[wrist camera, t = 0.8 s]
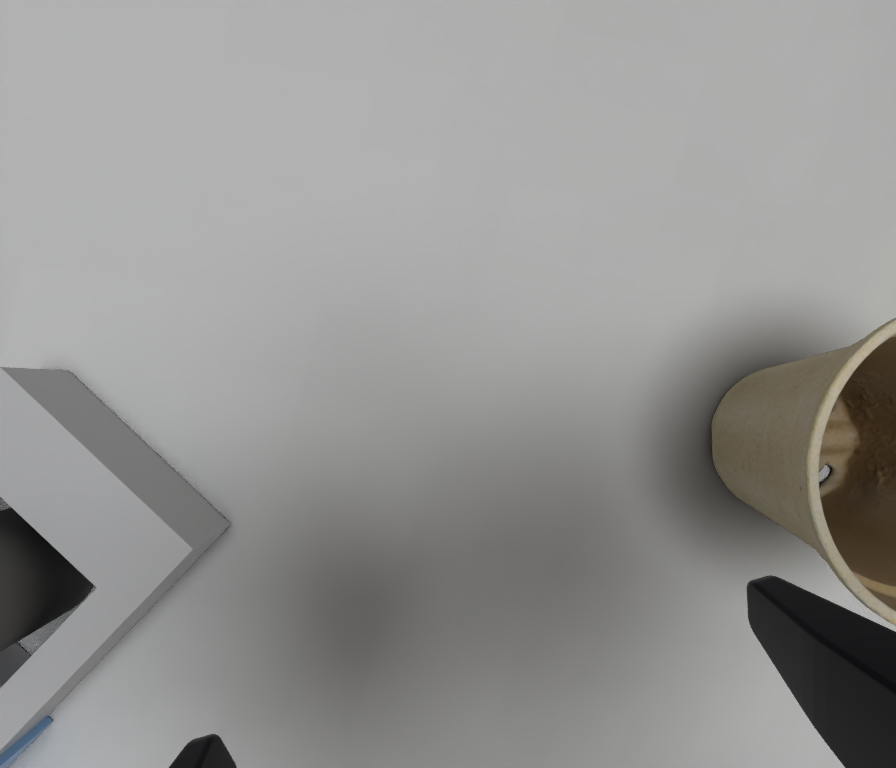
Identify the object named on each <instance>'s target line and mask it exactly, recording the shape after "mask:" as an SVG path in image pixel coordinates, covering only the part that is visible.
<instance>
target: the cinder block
mask: <svg viewBox="0 0 896 768" xmlns="http://www.w3.org/2000/svg"><path fill="white" fill-rule="evenodd" d="M0 497H1V498H2V499H3V500H4V501H5V502H6V503H7V504H8V505H9V506H10V507H12V508H13V509H14V510H15V511H16V512H17V513H18V514H19V515H20V516H21V517H22V518H23V519H24V520H25V521H26V522H27V523H29V524H30V525H31V526H32V527H33V528H34V529H35V530H36V531H37V532H38V533H39V534H40V535H41V536H42V537H43V538H44V539H46V540H47V541H48V542H49V543H50V544H51V545H52V546H53V547H54V548H55V549H56V550H57V551H58V552H59V553H60V554H61V555H63V556H64V557H65V558H66V559H67V560H68V561H69V562H70V563H71V564H72V565H73V566H74V567H75V568H76V569H77V570H78V571H80V572H81V573H82V574H83V575H84V576H85V577H86V578H87V579H88V580H89V581H90V582H91V583H92V584H93V585H94V586H95V587H97V588H96V589H95V590H94V591H93V592H92V593H91V594H90V595H89V597H88V598H87V599H86V600H85V601H84V602H83V603H82V604H81V605H80V606H79V607H78V608H77V609H76V610H75V611H74V612H73V613H72V614H71V615H70V616H69V617H68V618H67V619H66V620H65V621H64V623H63V624H62V625H61V626H60V627H59V628H58V629H57V630H56V631H55V632H54V633H53V634H52V635H51V636H50V637H49V638H48V639H47V640H46V641H45V642H44V643H43V644H42V645H41V646H40V647H39V649H38V650H37V651H36V652H35V653H34V654H33V655H32V656H30V655H29V654H28V653H27V652H26V651H25V650H24V649H23V648H22V647H21V646H20V645H19V644H18V643H14V644H12V645H11V646H9V647H7V648H6V649H4V650H2V651H1V652H0V768H8V767H9V766H10V765H11V764H12V763H13V762H14V761H15V760H16V759H17V758H18V757H19V756H20V755H21V754H22V753H23V752H24V751H25V749H26V748H27V747H28V746H29V745H30V744H31V743H32V742H33V741H34V740H35V739H36V738H37V737H38V736H39V735H40V734H41V733H42V732H43V731H44V730H45V729H46V728H47V726H48V725H49V724H50V723H51V722H52V720H51V719H50V718H49V717H48V715H49V714H50V713H51V712H52V711H53V710H54V709H55V708H56V707H57V706H58V704H59V703H60V702H61V701H62V700H63V699H64V698H65V697H66V696H67V695H68V694H69V693H70V692H71V691H72V690H73V689H74V688H75V687H76V686H77V685H78V684H79V683H80V682H81V680H82V679H83V678H84V677H85V676H86V675H87V674H88V673H89V672H90V671H91V670H92V669H93V668H94V667H95V666H96V665H97V664H98V663H99V662H100V661H101V660H102V659H103V657H104V656H105V655H106V654H107V653H108V652H109V651H110V650H111V649H112V648H113V647H114V646H115V645H116V644H117V643H118V642H119V641H120V640H121V639H122V638H123V637H124V636H125V635H126V633H127V632H128V631H129V630H130V629H131V628H132V627H133V626H134V625H135V624H136V623H137V622H138V621H139V620H140V619H141V618H142V617H143V616H144V615H145V614H146V613H147V612H148V610H149V609H150V608H151V607H152V606H153V605H154V604H155V603H156V602H157V601H158V600H159V599H160V598H161V597H162V596H163V595H164V594H165V593H166V592H167V591H168V590H169V589H170V588H171V586H172V585H173V584H174V583H175V582H176V581H177V580H178V579H179V578H180V577H181V576H182V575H183V574H184V573H185V572H186V571H187V570H188V569H189V568H190V567H191V566H192V565H193V564H194V562H195V561H196V560H197V559H198V558H199V557H200V556H201V555H202V554H203V553H204V552H205V551H206V550H207V549H208V548H209V547H210V546H211V545H212V544H213V543H214V542H215V541H216V539H217V538H218V537H219V536H220V535H221V534H222V533H223V532H224V531H225V530H226V529H227V528H228V527H229V526H230V525H231V524H230V523H229V522H228V521H227V520H226V519H225V518H224V517H223V516H222V515H221V514H220V513H219V512H218V511H217V510H216V509H215V508H214V507H212V506H211V505H210V504H209V503H208V502H207V501H206V500H205V499H204V498H203V497H202V496H201V495H200V494H199V493H198V492H197V491H196V490H195V489H193V488H192V487H191V486H190V485H189V484H188V483H187V482H186V481H185V480H184V479H183V478H182V477H181V476H180V475H179V474H178V473H177V472H175V471H174V470H173V469H172V468H171V467H170V466H169V465H168V464H167V463H166V462H165V461H164V460H163V459H162V458H161V457H160V456H159V455H157V454H156V453H155V452H154V451H153V450H152V449H151V448H150V447H149V446H148V445H147V444H146V443H145V442H144V441H143V440H142V439H141V438H140V437H138V436H137V435H136V434H135V433H134V432H133V431H132V430H131V429H130V428H129V427H128V426H127V425H126V424H125V423H124V422H123V421H122V420H120V419H119V418H118V417H117V416H116V415H115V414H114V413H113V412H112V411H111V410H110V409H109V408H108V407H107V406H106V405H105V404H104V403H103V402H101V401H100V400H99V399H98V398H97V397H96V396H95V395H94V394H93V393H92V392H91V391H90V390H89V389H88V388H87V387H86V386H85V385H83V384H82V383H81V382H80V381H79V380H78V379H77V378H76V377H75V376H74V375H73V374H72V373H71V372H70V371H67V370H47V369H26V368H6V367H0Z"/></svg>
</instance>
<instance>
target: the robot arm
mask: <svg viewBox="0 0 896 768" xmlns="http://www.w3.org/2000/svg"><path fill="white" fill-rule="evenodd" d="M747 603H748V619H749V623H750V626H751V628H752V630H753V632H754V634H755V635H756V637H757V639H758V640H759V642H760V643H761V645H762V646H763V648H764V650H765V651H766V653H767V654H768V656H769V657H770V659H771V661H772V662H773V664H774V665H775V667H776V668H777V670H778V672H779V673H780V675H781V676H782V678H783V679H784V681H785V683H786V684H787V686H788V687H789V689H790V690H791V692H792V694H793V695H794V697H795V698H796V700H797V701H798V703H799V705H800V706H801V708H802V709H803V711H804V712H805V714H806V715H807V717H808V718H809V720H810V721H811V723H812V724H813V726H814V727H815V728H816V730H817V731H818V733H819V734H820V735H821V737H822V738H823V739H824V741H825V742H826V743H827V745H828V746H829V747H830V748H831V750H832V751H833V752H834V754H835V755H836V756H837V758H838V759H839V760H840V761H841V763H842V764H843V765H844V767H845V768H896V632H895V631H892V630H890V629H888V628H886V627H884V626H882V625H880V624H877V623H875V622H873V621H871V620H869V619H867V618H865V617H862V616H860V615H858V614H856V613H854V612H852V611H849V610H847V609H845V608H843V607H841V606H839V605H837V604H834V603H832V602H830V601H828V600H826V599H824V598H821V597H819V596H817V595H815V594H813V593H811V592H809V591H806V590H804V589H802V588H800V587H798V586H796V585H793V584H791V583H789V582H787V581H785V580H783V579H781V578H778V577H776V576H765V577H762V578H758V579H755V580H751V581H750V582H749V583H748V585H747ZM169 768H237V767H236V764H235V762H234V761H233V759H232V757H231V755H230V754H229V752H228V750H227V748H226V747H225V745H224V743H223V741H222V740H221V738H220V737H219V736H218V735H216V734H210V735H207V736H203V737H200V738H196V739H194V740H192V741H190V742H189V743H188V744H187V745H186V746H185V747H184V749H183V750H182V751H181V752H180V754H179V755H178V756H177V758H176V759H175V760H174V762H173V763H172V764H171V766H170V767H169Z"/></svg>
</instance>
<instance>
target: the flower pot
mask: <svg viewBox="0 0 896 768" xmlns="http://www.w3.org/2000/svg"><path fill="white" fill-rule="evenodd" d="M711 428H712V454H713V462H714V466H715V468H716V470H717V472H718V474H719V476H720V478H721V479H722V481H723V482H724V484H725V485H726V486H727V487H728V489H729V490H730V491H731V492H732V493H733V494H734V495H735V496H736V497H738V498H739V499H740V500H741V501H743V502H744V503H746V504H748V505H750V506H751V507H753V508H754V509H756V510H757V511H759V512H761V513H762V514H764V515H765V516H767V517H768V518H770V519H771V520H773V521H774V522H776V523H777V524H779V525H780V526H782V527H783V528H785V529H786V530H788V531H789V532H791V533H792V534H794V535H795V536H797V537H798V538H800V539H801V540H803V541H804V542H806V543H807V544H809V545H810V546H811V547H813V548H814V549H816V550H817V552H818V553H819V554H820V555H821V557H822V558H823V559H824V560H825V561H826V562H827V563H828V564H829V566H830V567H831V569H832V570H833V572H834V573H835V574H836V576H837V577H838V579H839V580H840V581H841V582H842V583H843V585H844V586H845V587H846V588H847V589H848V590H849V591H850V592H851V593H852V594H853V595H854V596H855V597H856V598H857V599H858V600H859V601H860V602H861V603H863V604H864V605H865V606H866V607H867V608H869V609H870V610H871V611H873V612H874V613H876V614H877V615H879V616H880V617H882V618H883V619H885V620H886V621H888V622H890V623H892V624H894V625H895V626H896V318H894V319H892V320H890V321H889V322H887V323H885V324H884V325H882V326H881V327H879V328H877V329H876V330H874V331H873V332H871V333H870V334H869V335H868V336H866V337H865V338H864V339H862V340H860V341H858V342H857V343H855V344H853V345H851V346H849V347H845V348H842V349H838V350H834V351H831V352H827V353H823V354H819V355H815V356H812V357H808V358H805V359H801V360H797V361H793V362H789V363H785V364H781V365H777V366H772V367H768V368H765V369H761V370H758V371H756V372H753V373H751V374H750V375H748V376H746V377H744V378H743V379H741V380H740V381H739V382H737V383H736V384H735V385H734V386H733V387H732V388H731V389H730V390H729V391H728V392H727V393H726V395H725V396H724V397H723V399H722V400H721V402H720V404H719V406H718V407H717V410H716V412H715V414H714V417H713V420H712V427H711ZM825 464H827V465H829V466H830V467H831V468H832V472H831V475H830V476H829V478H828V479H826V480H825V481H824V482H822V483H820V485H819V472H820V471H821V470H822V468H824V465H825Z"/></svg>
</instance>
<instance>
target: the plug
mask: <svg viewBox="0 0 896 768" xmlns="http://www.w3.org/2000/svg"><path fill="white" fill-rule="evenodd" d="M93 586H94V585H93V584H92V583H91V582H90V581H89V580H88V579H87V578H86V577H85V576H84V575H83V574H82V573H81V572H80V571H78V570H77V569H76V568H75V567H74V566H73V565H72V564H71V563H70V562H69V561H68V560H67V559H66V558H65V557H64V556H63V555H61V554H60V553H59V552H58V551H57V550H56V549H55V548H54V547H53V546H52V545H51V544H50V543H49V542H48V541H47V540H46V539H44V538H43V537H42V536H41V535H40V534H39V533H38V532H37V531H36V530H35V529H34V528H33V527H32V526H31V525H30V524H29V523H27V522H26V521H25V520H24V519H23V518H22V517H21V516H20V515H19V514H18V513H17V512H16V511H15V510H14V509H13V508H9V509H6V510H2V511H0V652H1V651H2V650H4V649H6V648H7V647H9V646H11V645H12V644H14V643H16V642H17V641H19V640H21V639H22V638H24V637H26V636H27V635H29V634H31V633H32V632H34V631H36V630H37V629H39V628H41V627H42V626H44V625H46V624H47V623H49V622H51V621H52V620H54V619H56V618H57V617H59V616H61V615H62V614H64V613H66V612H67V611H69V610H71V609H72V608H74V607H75V606H76V605H78V604H79V603H80V602H81V601H82V600H83V599H84V598H85V597H86V596H87V595H88V594H89V592H90V591H91V589H92V588H93Z"/></svg>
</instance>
